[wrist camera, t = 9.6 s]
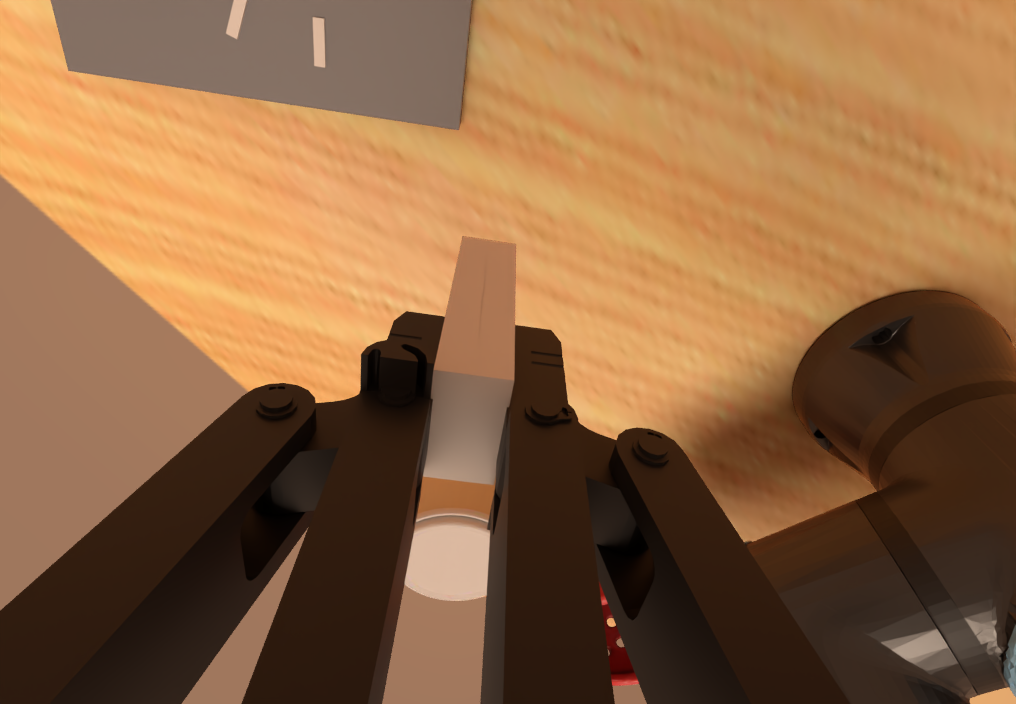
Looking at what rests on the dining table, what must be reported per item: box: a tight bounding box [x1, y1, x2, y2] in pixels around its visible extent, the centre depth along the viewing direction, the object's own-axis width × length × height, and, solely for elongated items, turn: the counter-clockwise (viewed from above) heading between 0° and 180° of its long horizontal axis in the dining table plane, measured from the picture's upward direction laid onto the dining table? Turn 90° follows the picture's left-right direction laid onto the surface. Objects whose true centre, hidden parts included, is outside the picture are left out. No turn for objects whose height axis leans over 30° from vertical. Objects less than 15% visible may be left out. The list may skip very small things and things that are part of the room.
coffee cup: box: [404, 477, 496, 601], centre depth 46 cm, size 9×9×12 cm
